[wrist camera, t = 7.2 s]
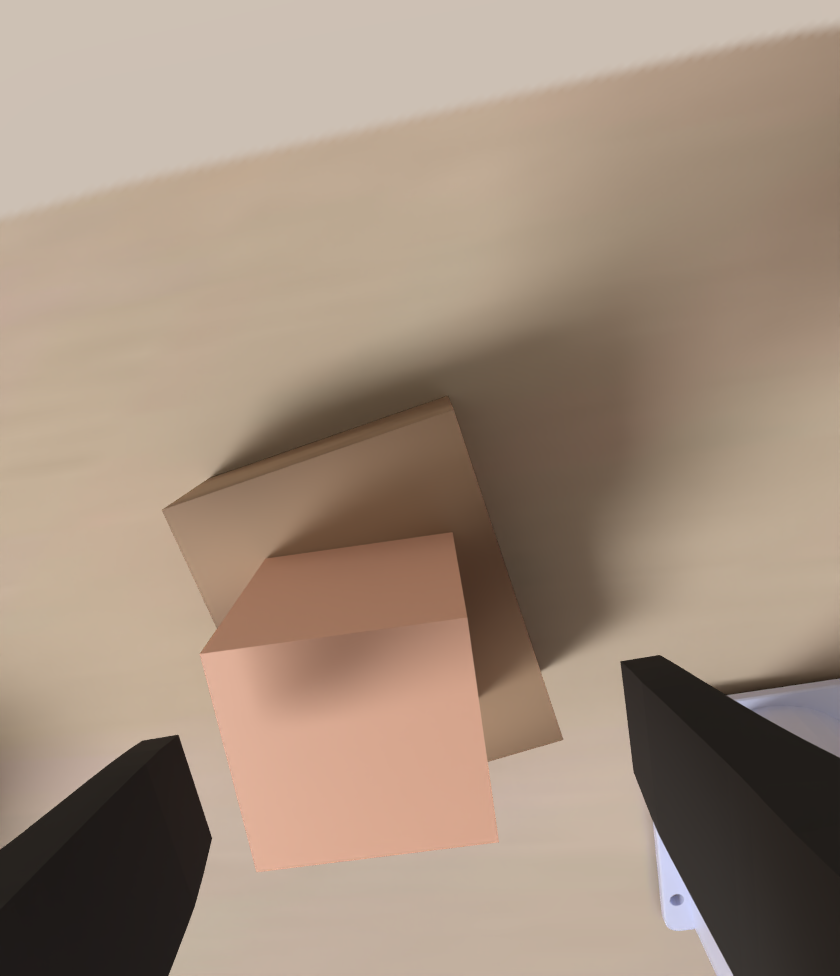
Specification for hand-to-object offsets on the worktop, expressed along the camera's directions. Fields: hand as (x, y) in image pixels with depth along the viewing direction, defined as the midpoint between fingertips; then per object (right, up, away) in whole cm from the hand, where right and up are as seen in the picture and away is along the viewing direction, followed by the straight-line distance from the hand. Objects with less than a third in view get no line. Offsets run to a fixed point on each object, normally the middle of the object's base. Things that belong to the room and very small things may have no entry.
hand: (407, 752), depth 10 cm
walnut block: (-1, +1, +11) cm, 11 cm away
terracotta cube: (-1, 0, +7) cm, 7 cm away
